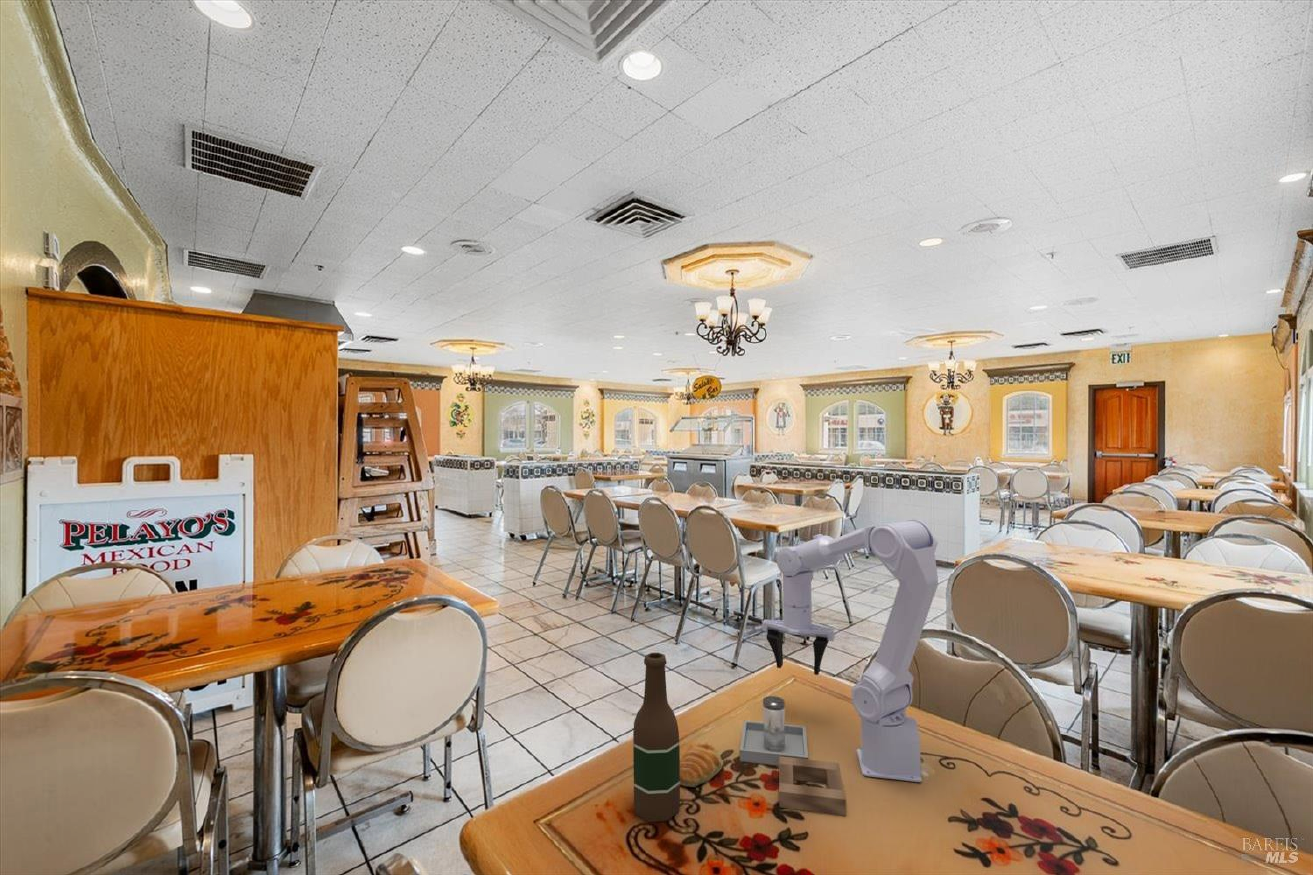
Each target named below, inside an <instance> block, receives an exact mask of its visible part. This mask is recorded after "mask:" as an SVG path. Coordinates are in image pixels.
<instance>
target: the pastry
mask: <svg viewBox="0 0 1313 875" xmlns="http://www.w3.org/2000/svg"><path fill="white" fill-rule="evenodd" d="M723 766H724V760H723V759H722V757H721V754H720V753H719V752H718V749H717V747H715V746H713V745H712V744H710V743H708V742H703V743H700V742H699V743H697V744H696V745H694V746H693V748H691V749H689V750H687V751H686V752H685V753H684V754H683V756H682V757H681V758H680V786H684V787H689V788H696V787H697V786H699V785H702V784H705V783H708V782H710V780H712V779H713V778H714V777H715V776H716V775H717V774H719V773H720V771H721V770H722V768H723Z"/></svg>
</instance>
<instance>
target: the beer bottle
mask: <svg viewBox="0 0 1313 875" xmlns="http://www.w3.org/2000/svg"><path fill="white" fill-rule="evenodd" d="M666 658H667V657H666V655H665V654H663V653H661V652H649V653H648V654H645V655H644V658H643V659H644V660H643V661H644V662H643V664H644V665H645V678H644V680H645V681H644V695H643V696H644V697H643V702H642V705H641V707H640V708H639V710H638V711H637V713H636V715H635V718H634V721H633V734H632V735H633V736H632V737H633V738H632V740H633V741H632V744H633V746H632V747H633V749H632V750H633V752H632V753H633V754H632V755H633V757H632V758H633V759H632V760H633V767H632V768H633V806H634V808H633V809H634V813H635V815H636V816H638V817H640V819H643V820H645V821H646V822H648V823H658V822H659V823H660V822H668V821H670V820H671V819H672V818H673V817H674V816H675V815H677V814H678V813H679V811H680V809H681V807H680V806H681V784H680V760H681V757H680V753H681V752H680V749H681V748H680V746H681V745H680V744H681V743H680V733H679V725H678V720H677V718H676V714H675V712H674V710H673V708H672V707H671V706H670V705H669V702H668V693H667V680H666V678H667V677H666V665H667V662H668V661H667V659H666Z"/></svg>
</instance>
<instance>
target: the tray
mask: <svg viewBox="0 0 1313 875" xmlns="http://www.w3.org/2000/svg"><path fill="white" fill-rule="evenodd" d="M740 737H741V739H740V745H739V746H740V747H739V762H744V763H752V764H761V765H771V766H778V767H779V756H781V757H790V758H799V759H808V760H809V750H808V739H807V730H806V725H805V726H804V725H794V724H786V723H785V750H784V751H782V752H771V751H768V750H766V749H765V748H764V739H763V721H757V720H756V721H753V720H743V722H742V731H741V736H740Z"/></svg>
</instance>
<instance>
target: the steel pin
mask: <svg viewBox="0 0 1313 875" xmlns="http://www.w3.org/2000/svg"><path fill="white" fill-rule="evenodd" d="M785 703H786V702H785V700H784V699H783V698H781V697H779V696H775V695H770V696H766V697H763V699H762V717H763V718H762V722H763V739H764V748H765V749H766V750H768V751H771V752H782V751H784V750H785V724H786V719H785V718H786V714H785V713H786V708H785V705H786V704H785Z"/></svg>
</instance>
